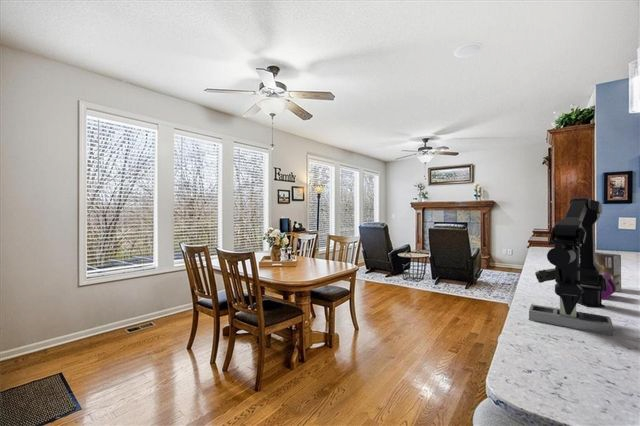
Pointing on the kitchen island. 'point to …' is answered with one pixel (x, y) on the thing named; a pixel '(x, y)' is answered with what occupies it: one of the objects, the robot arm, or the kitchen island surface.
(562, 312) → the peg
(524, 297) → the kitchen island surface
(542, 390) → the kitchen island surface
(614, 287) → the mounting bracket
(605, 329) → the slotted holder
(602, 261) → the coffee box
